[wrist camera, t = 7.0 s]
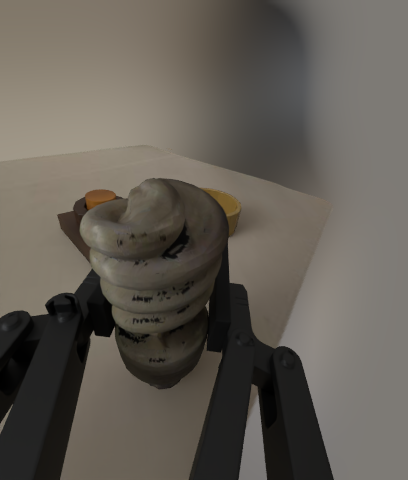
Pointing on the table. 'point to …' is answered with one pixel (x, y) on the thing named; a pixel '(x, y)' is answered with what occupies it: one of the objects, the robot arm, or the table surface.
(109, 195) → the lamp button
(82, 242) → the switch box
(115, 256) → the light bulb
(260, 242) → the table surface
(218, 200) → the lamp holder
